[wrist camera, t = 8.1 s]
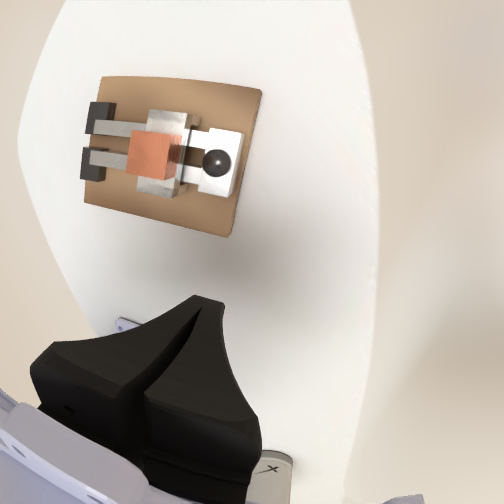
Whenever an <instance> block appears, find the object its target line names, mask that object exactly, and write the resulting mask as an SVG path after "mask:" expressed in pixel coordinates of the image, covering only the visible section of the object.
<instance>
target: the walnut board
mask: <svg viewBox="0 0 504 504" xmlns="http://www.w3.org/2000/svg"><path fill="white" fill-rule="evenodd" d="M261 95H262V92H261V90H260V89H255V88H249V87H243V86H237V85H231V84H224V83H217V82H209V81H200V80H190V79H178V78H163V77H137V76H111V77H102V79H101V83H100V87H99V92H98V97H97V102H111V103H117V105H116V110H115V116H114V121H124V122H134V123H144V124H147V119H148V114H149V110H150V109H152V110H162V111H171V112H179V113H187V114H191V115H194V116H198V117H201V119H200V124H199V126H194V125H191V126H190V130H196V131H202V132H208V133H209V131H210V128H214V129H220V130H225V131H231V132H236V133H241V134H245V135H246V138H245V143H244V147H243V152H242V156H241V161H240V165H239V170H238V174H237V179H236V184H235V188H234V193H232V194H231V195H230V196H229V197H227V198H226V197H221V196H217V195H213V194H208V193H204V192H199V191H198V187H199V185H198V184H194V183H189V182H185V183H188V186H187V192H185V193H183V194H181V195H179V196H177V197H175V198H173V199H170V198H165V197H161V196H156V195H152V194H147V193H142V192H138V191H136V190H137V182H138V175H132V174H127V173H125V172H126V170H121V169H115V168H110V167H107V170H106V179H105V180H104V181H101V182H94V181H89V180H86V182H85V196H84V203H88V204H93V205H97V206H101V207H105V208H109V209H113V210H117V211H121V212H125V213H130V214H134V215H138V216H142V217H146V218H150V219H154V220H158V221H162V222H166V223H170V224H174V225H178V226H182V227H186V228H190V229H194V230H198V231H202V232H206V233H210V234H214V235H218V236H222V237H226V238H228V236H229V235H230V233H231V229H232V225H233V220H234V215H235V210H236V206H237V201H238V196H239V192H240V187H241V183H242V178H243V173H244V169H245V164H246V160H247V156H248V151H249V147H250V142H251V138H252V134H253V129H254V125H255V121H256V116H257V112H258V108H259V104H260V99H261ZM130 138H131V137H122V136H113V135H93V134H91V137H90V144H89V147H90V146H92V147H100V148H108V149H109V150H113V151H120V152H127V153H128V151H129V144H130ZM205 151H206V149H203V148H197V147H191V146H186V152H185V157H184V162H187V163H192V164H197V165H202V160H203V157H204V155H205ZM181 182H184V181H181Z"/></svg>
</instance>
